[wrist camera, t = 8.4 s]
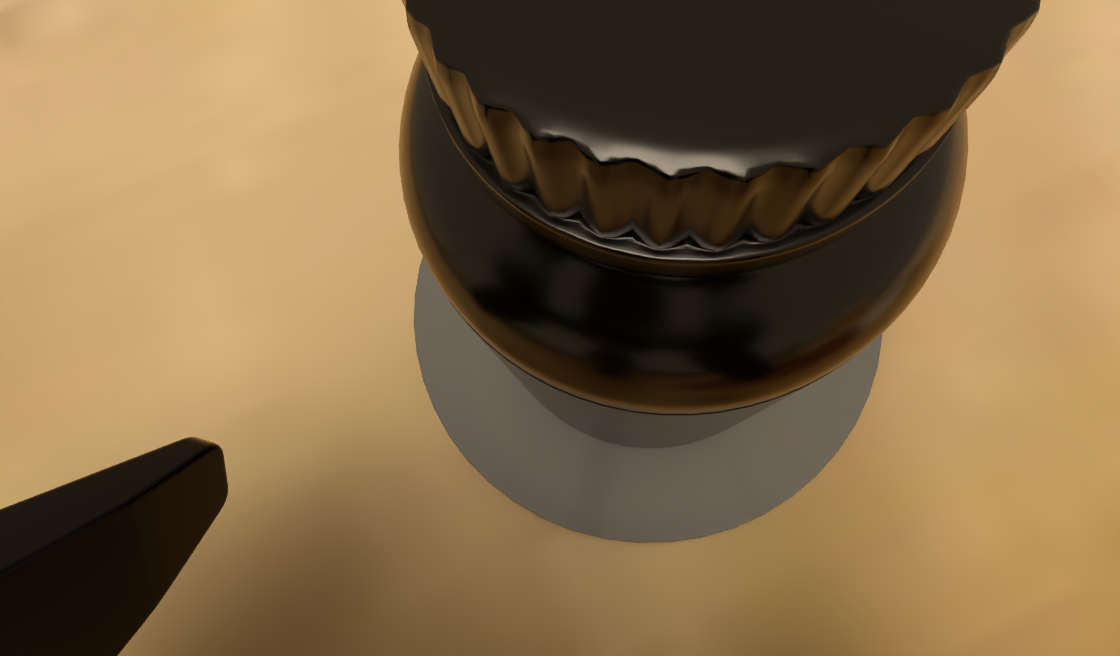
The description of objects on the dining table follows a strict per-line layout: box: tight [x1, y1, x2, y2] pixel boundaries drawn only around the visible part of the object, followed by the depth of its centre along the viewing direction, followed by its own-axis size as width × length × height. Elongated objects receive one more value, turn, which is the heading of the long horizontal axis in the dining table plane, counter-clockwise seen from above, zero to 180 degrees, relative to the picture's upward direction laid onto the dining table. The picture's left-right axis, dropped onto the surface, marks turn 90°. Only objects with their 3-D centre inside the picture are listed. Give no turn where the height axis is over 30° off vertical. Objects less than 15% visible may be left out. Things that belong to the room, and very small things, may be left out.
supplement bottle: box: [399, 0, 1040, 448], centre depth 11 cm, size 7×7×12 cm
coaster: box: [414, 257, 882, 542], centre depth 17 cm, size 11×11×1 cm
